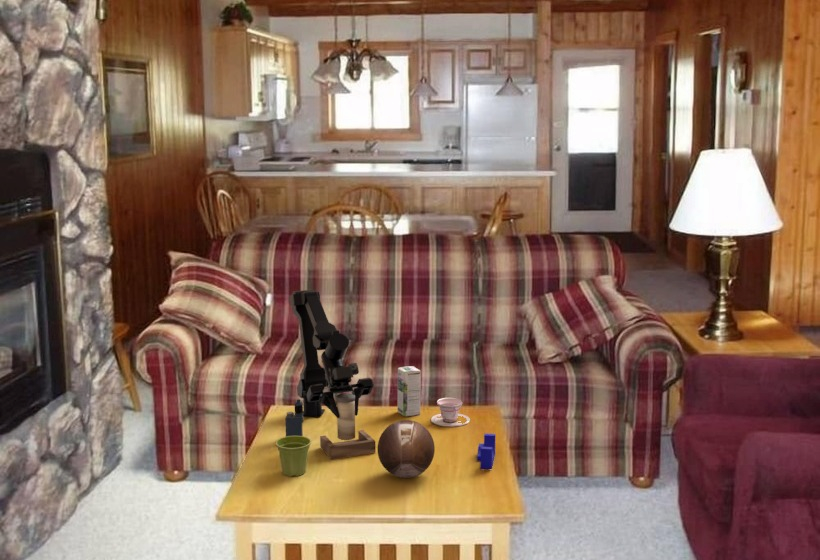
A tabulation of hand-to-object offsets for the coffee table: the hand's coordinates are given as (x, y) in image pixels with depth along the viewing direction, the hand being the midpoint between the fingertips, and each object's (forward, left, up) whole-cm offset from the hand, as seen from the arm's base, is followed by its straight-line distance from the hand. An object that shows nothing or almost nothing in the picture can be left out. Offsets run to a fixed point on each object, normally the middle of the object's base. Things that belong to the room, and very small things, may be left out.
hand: (347, 416), depth 282 cm
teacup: (-29, +26, -10) cm, 40 cm away
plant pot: (+18, -11, -10) cm, 23 cm away
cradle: (0, 0, -10) cm, 10 cm away
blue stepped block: (+4, +39, -11) cm, 40 cm away
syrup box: (-34, +13, -10) cm, 38 cm away
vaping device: (-7, -17, -10) cm, 21 cm away
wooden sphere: (+17, +19, -10) cm, 27 cm away
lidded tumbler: (-1, -1, -7) cm, 7 cm away
